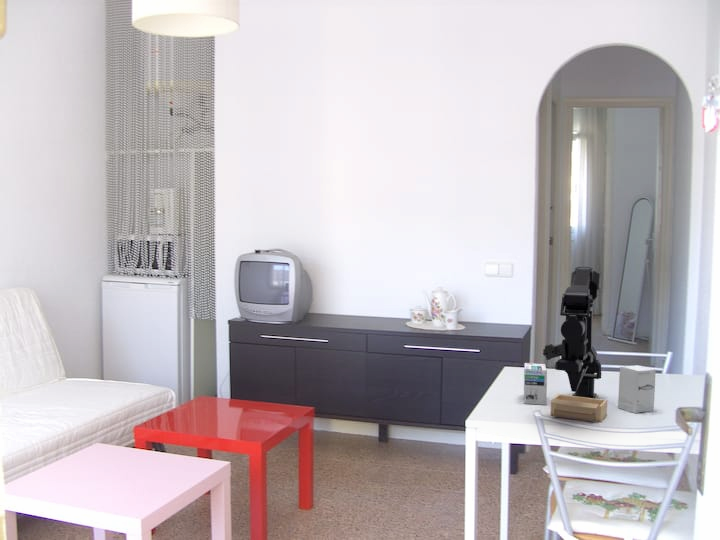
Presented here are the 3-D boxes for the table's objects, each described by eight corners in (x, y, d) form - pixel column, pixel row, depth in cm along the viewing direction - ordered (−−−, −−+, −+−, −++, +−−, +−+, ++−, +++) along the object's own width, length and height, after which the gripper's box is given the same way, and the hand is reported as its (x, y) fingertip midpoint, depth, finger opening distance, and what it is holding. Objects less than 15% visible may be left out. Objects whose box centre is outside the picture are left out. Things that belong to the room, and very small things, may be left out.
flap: (550, 402, 214) (551, 417, 216) (596, 408, 208) (596, 423, 210) (553, 398, 217) (553, 413, 218) (598, 404, 211) (598, 419, 212)
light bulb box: (546, 405, 229) (547, 370, 229) (523, 404, 231) (524, 368, 230) (545, 397, 240) (546, 363, 239) (523, 396, 241) (524, 362, 240)
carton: (558, 409, 225) (558, 394, 225) (606, 415, 218) (607, 400, 218) (550, 415, 218) (550, 399, 217) (600, 422, 211) (601, 406, 211)
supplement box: (635, 413, 221) (637, 370, 220) (617, 407, 228) (618, 366, 227) (654, 411, 224) (656, 369, 223) (636, 405, 230) (637, 364, 230)
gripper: (555, 329, 222) (553, 382, 223) (537, 337, 206) (535, 394, 207) (594, 332, 217) (592, 386, 218) (579, 341, 201) (577, 399, 202)
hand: (573, 391), depth 211 cm, fingers closed
